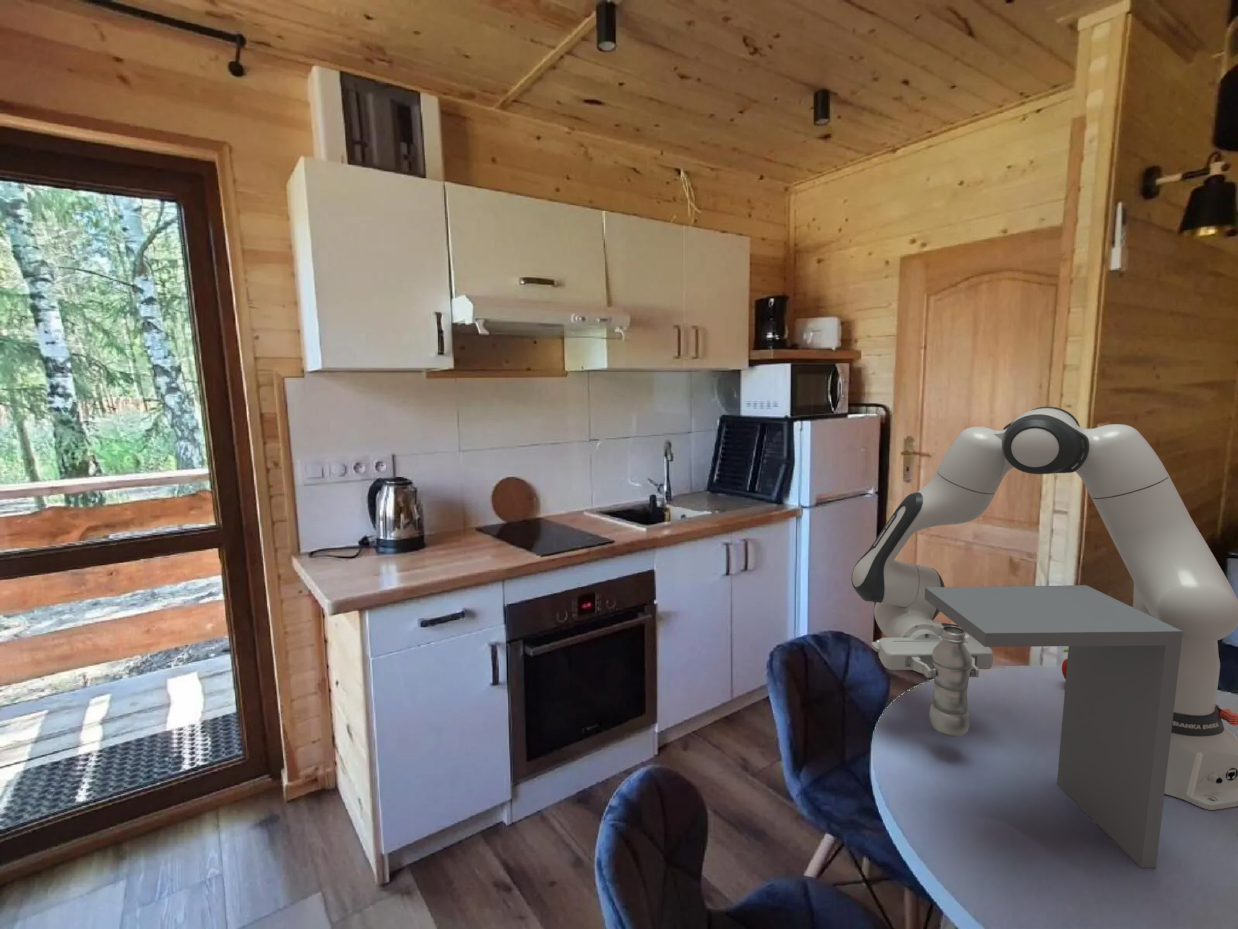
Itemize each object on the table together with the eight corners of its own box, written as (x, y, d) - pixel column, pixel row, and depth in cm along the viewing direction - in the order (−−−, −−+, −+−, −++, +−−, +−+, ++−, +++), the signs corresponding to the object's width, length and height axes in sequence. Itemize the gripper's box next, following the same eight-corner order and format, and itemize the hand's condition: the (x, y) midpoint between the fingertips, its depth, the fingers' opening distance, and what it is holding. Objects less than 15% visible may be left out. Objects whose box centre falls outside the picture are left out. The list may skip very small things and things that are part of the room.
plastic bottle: (973, 743, 109) (980, 639, 105) (932, 739, 110) (937, 636, 107) (963, 723, 115) (969, 624, 112) (924, 719, 116) (929, 621, 113)
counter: (1068, 784, 104) (1086, 585, 99) (1155, 868, 87) (1182, 631, 81) (915, 783, 106) (925, 587, 100) (970, 866, 88) (985, 633, 83)
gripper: (868, 626, 123) (895, 658, 110) (970, 625, 122) (1011, 657, 109) (867, 655, 124) (894, 690, 111) (968, 654, 123) (1009, 689, 110)
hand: (953, 673), depth 110 cm, fingers open, 6 cm apart
